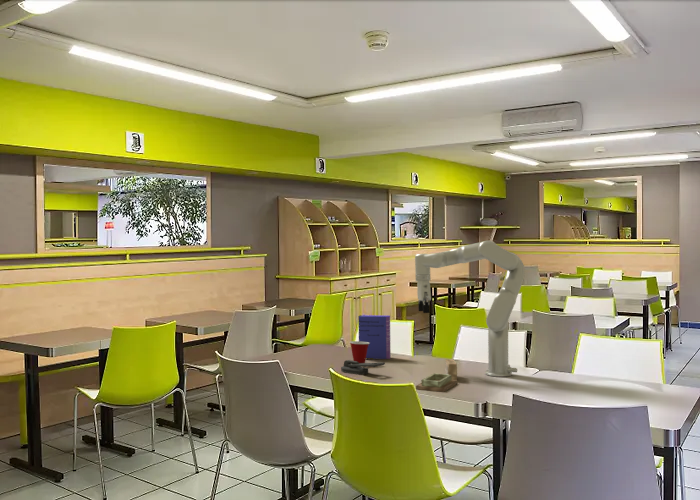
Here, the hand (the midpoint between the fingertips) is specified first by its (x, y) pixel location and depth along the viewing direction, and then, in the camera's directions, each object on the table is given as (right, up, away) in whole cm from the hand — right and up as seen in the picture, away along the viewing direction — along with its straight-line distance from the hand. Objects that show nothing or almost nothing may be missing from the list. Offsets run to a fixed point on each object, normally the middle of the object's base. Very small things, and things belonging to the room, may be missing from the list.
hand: (424, 312), depth 318 cm
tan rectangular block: (+11, -30, -19) cm, 37 cm away
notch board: (+2, -30, -36) cm, 46 cm away
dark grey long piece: (-31, -30, -5) cm, 44 cm away
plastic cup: (-32, -30, +20) cm, 48 cm away
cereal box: (-23, -30, +37) cm, 53 cm away
